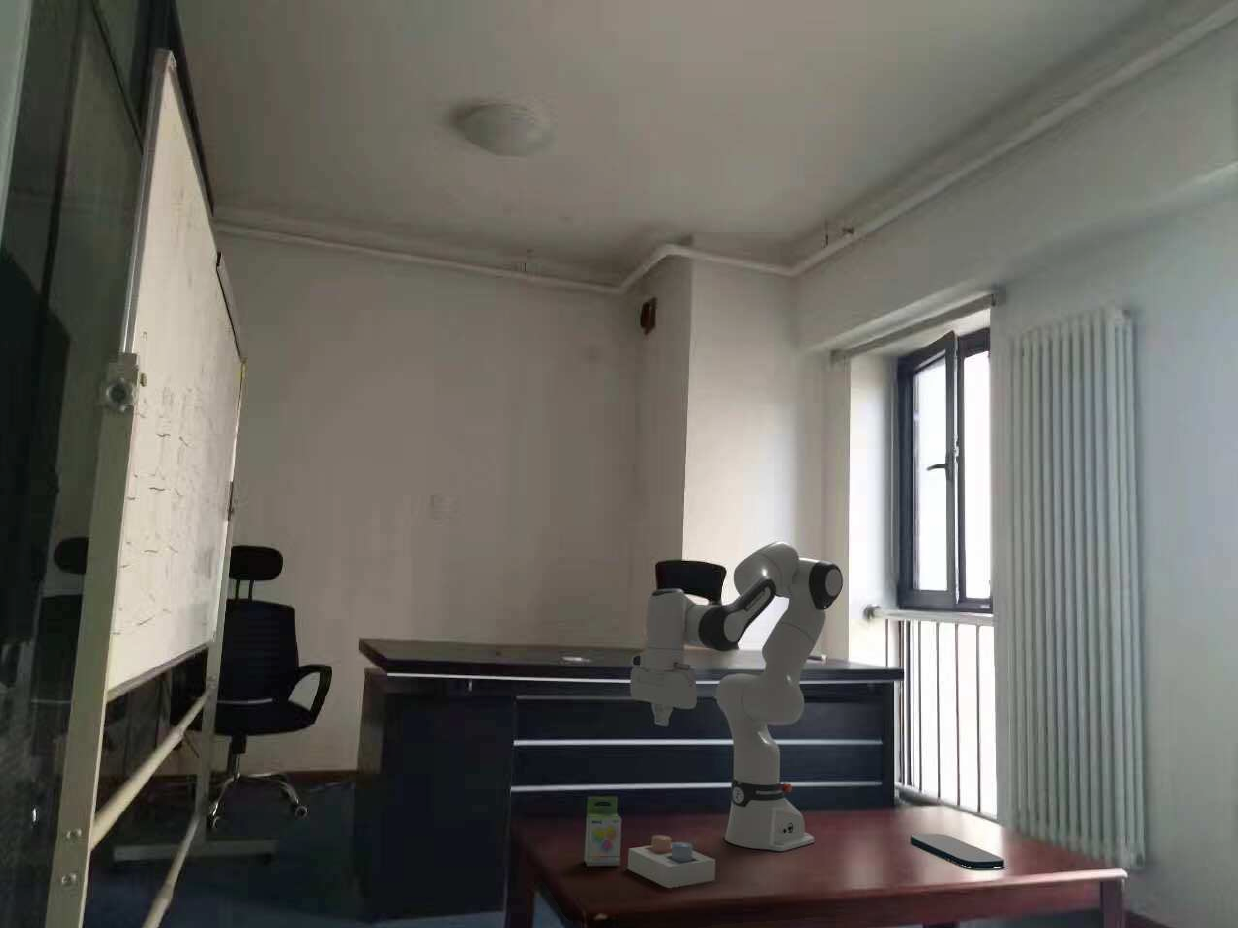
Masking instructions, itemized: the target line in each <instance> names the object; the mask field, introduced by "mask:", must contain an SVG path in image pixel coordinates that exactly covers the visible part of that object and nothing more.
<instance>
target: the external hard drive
mask: <svg viewBox="0 0 1238 928" xmlns="http://www.w3.org/2000/svg"><path fill="white" fill-rule="evenodd" d="M910 843H911V844H912V845H914V846H915V847H918V848H920V849H922V850H924V851H925V852H929V853H931V854H933V855H935V856H937V855H939V856H941V857H943V858H942V859H944V858H946V859H949V860H950V861H953V862H955V863H957V864H959V865H963V866H966V867H971V868H994V867H1002V866H1005V861H1004V858H1002V857H1001V856H998V855H997V854H994V853H991V852H989V851H988V850H987V851H986V850H984V849H982V848H979V847H977V846H974V845H972V844H970V843H967V842H965V841H963V840H960V839H958V838H956V837H953V836H950V835H948V834H947V835H946V834H942V833H941V834H940V833H920V834H918V833H917V834H911V836H910ZM939 856H938V857H939ZM941 857H940V858H941ZM946 859H945V860H946ZM950 861H949V862H950ZM955 863H954V864H955ZM957 864H956V865H957ZM959 865H958V866H959Z"/></svg>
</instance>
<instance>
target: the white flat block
mask: <svg viewBox="0 0 1238 928" xmlns="http://www.w3.org/2000/svg"><path fill="white" fill-rule="evenodd" d="M673 843H674V842H671V853H666V854H657V853H654V852H652V851H651V845H645V846H639V847H631V848H630V847H629V848H628V850H627V851H628V852H627V855H628V856H627V869H628V870H629V871H631V872H634V873H636V874H637V875H639V876H641V877H642V876H643V877H644V878H646V879H648V880H651V881H652V882H654V883H657V884H658V885H660V886H662V887H664V888H666V887H667V889H668V888H669V889H674V888H678V887H679V886H680V887H684V886H685V885H686V886H691V885H697V884H701V883H707V882H714V881H715V878H716V859H714V858H711V857H709V856H707V855H704V854H702V853H699V852H697V851H695V850H692V862H688V863H682V864H679V863H677V862H675V861H672V844H673ZM686 886H685V887H686ZM673 887H674V888H673Z"/></svg>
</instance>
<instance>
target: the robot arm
mask: <svg viewBox="0 0 1238 928" xmlns="http://www.w3.org/2000/svg"><path fill="white" fill-rule="evenodd" d="M798 553H799V552H798V551H797V549H796V548H794V547H793V546H792V545H791V544H790V543H788V542H785V541H774V542H772V543H769V544H767V545H764V546H762V547H761V548H760V549H757V550H755V551H754V552H753V553H751V554H750V555H748V556H747V557H745V559H743V560H742V561H741V562H740V563H739V564H738V565H737V566H736V568H735V569H734V571H733V572H734V573H733V585H734V586H735V590H736V591H737V593H738V594H739V596H737V598H736V599H735V600H734V601H732V603H729V604H724V605H723V604H722V605H721V604H720V605H719V604H718V605H710V604H698V603H697V602H695V601H693V600H692V599H691V598H689V597H688V596H687V595H686V594H685V593H684V590H683V589H681V588H678V587H675V588H673V587H669V588H660V589H655V590H654V591H653V592H652V593H651V594H650V596H649V598H648V602H647V607H646V608H647V609H646V619H645V630H646V636H647V637H646V641H645V644H644V651H642V652H640V653H638V654H636V655H632V657H631V659H630V665H631V666H632V669H631V672H630V682H629V683H630V684H629V686H630V687H629V691H630V695H631V698H632V699H634V700H635V699H636V700H639V701H645V702H649V703H651V710H652V713H653V715H654V716H653V717H654V724H655V725H659V726H663V727H667V726H668V725H670V723H669V722H670V721H669V720H670V717H671V715H672V712H673V711H674V708H676V709H683V710H688V709H689V710H690V709H691V710H692V709H695V707H696V705H697V703H698V701H697V700H698V696H697V695H698V694H697V682H696V677H695V671H694V669H693V668H692V667H691V665H690V664H686V663H685V661H684V660H685V646H689V647H695V648H702V649H711V650H714V651H718V652H728V651H729V652H730V651H731V650H733V649H735V647H736V646H737V645H738V644H739V642H740V641H741V639H742V638H743V636H744V634H745V633H746V631H747V629H748V628H749V627H750V626H751V625H752V623H754V622H755V620H756V619H757V618H758V617H759V616H760V615H761V614H762V613H763V612H764V611H765V610H766V609H767V608H768V607H769V605H771V603H772V602H773V601H774V600H775V598H776V597H778V598H785V599H788V605H787V609H786V610H784V612H783V613H782V615H781V616H780V618H779V619H778V621H777V622H776V624H775V626H774V627H773V628H772V631H771V633H770V634H769V636H768V637H767V639H766V640H765V642H764V644H763V646H762V648H761V653H762V658H763V660H764V663H765V668H764V669H763V672H762V673H761V674H760V675H755V674H747V673H734V674H728V675H726V676H724V677H722V679H721V680H720V681H719V682H718V684H717V686H716V691H715V699H716V703H717V705H718V707H719V708H720V710H721V711H722V712H723V714H724V716H725V717H726V720H727V723H728V727H729V729H730V733H731V739H732V743H733V777H732V778H731V784H730V785H731V786H730V787H731V788H730V789H731V790H730V791H731V792H730V793H731V802H730V803H731V804H730V805H731V806H730V809H729V817H728V818H729V819H728V823H727V828H726V830H725V831H726V832H725V836H724V840H725V841H727V842H728V843H731V844H734V845H737V846H740V847H744V848H750V849H756V850H757V849H759V850H769V851H776V852H785V851H788V850H789V851H790V850H791V849H795V848H799V847H802V846H806V845H810V844H812V843H815V837H814V836H813V835H811V834H809V833H808V832H805V831H806V830H805V821H804V816H803V814H802V813H801V811H799V810H798V809H797V808H796V807H795V806H794V805H793V804H792V803H791V802H790V801H789V800H787V798H786V797H785V792H787V793H791V792H792V790H793V785H792V784H791V783H788V782H783V783H782V782H781V781H780V772H781V771H780V766H781V763H780V761H781V752H780V751H781V750H780V748H779V746H778V744H777V743H776V741H775V740H774V739H773V737H772V736H771V734H770V731H769V728H768V725H772V726H786V725H793V724H795V723H797V722H798V721H799V720H800V718H801V717H802V715H803V712H804V710H805V697H804V694H803V692H802V690H801V688H800V680H801V674H802V671H803V669H804V667H805V665H806V663H807V661H808V659H809V657H810V655H811V653H812V651H813V650H814V648H815V646H816V644H817V642H818V640H819V639H820V636H821V634H822V631H823V628H824V625H825V621H826V612H825V610H827V609H829V608H830V607H831V606H832V605H833V603H834V602H835V601H836V600H837V598H838V597H839V595H840V594H841V592H842V589H843V585H844V578H843V574H842V572H841V569H840V567H839V566H838V565H837V564H835V563H833V562H831V561H828V560H824V559H823V560H822V559H821V560H819V559H815V558H809V557H800V556H799V554H798ZM684 663H685V664H684Z"/></svg>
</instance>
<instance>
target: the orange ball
mask: <svg viewBox="0 0 1238 928" xmlns="http://www.w3.org/2000/svg"><path fill="white" fill-rule="evenodd" d="M672 839H673V838H672V837H671V836H667V835H659V834H657V835H652V836H651V845H650V846H651V851H652V852H654V853H657V854H666V853H671V843H673V842H672Z"/></svg>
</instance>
